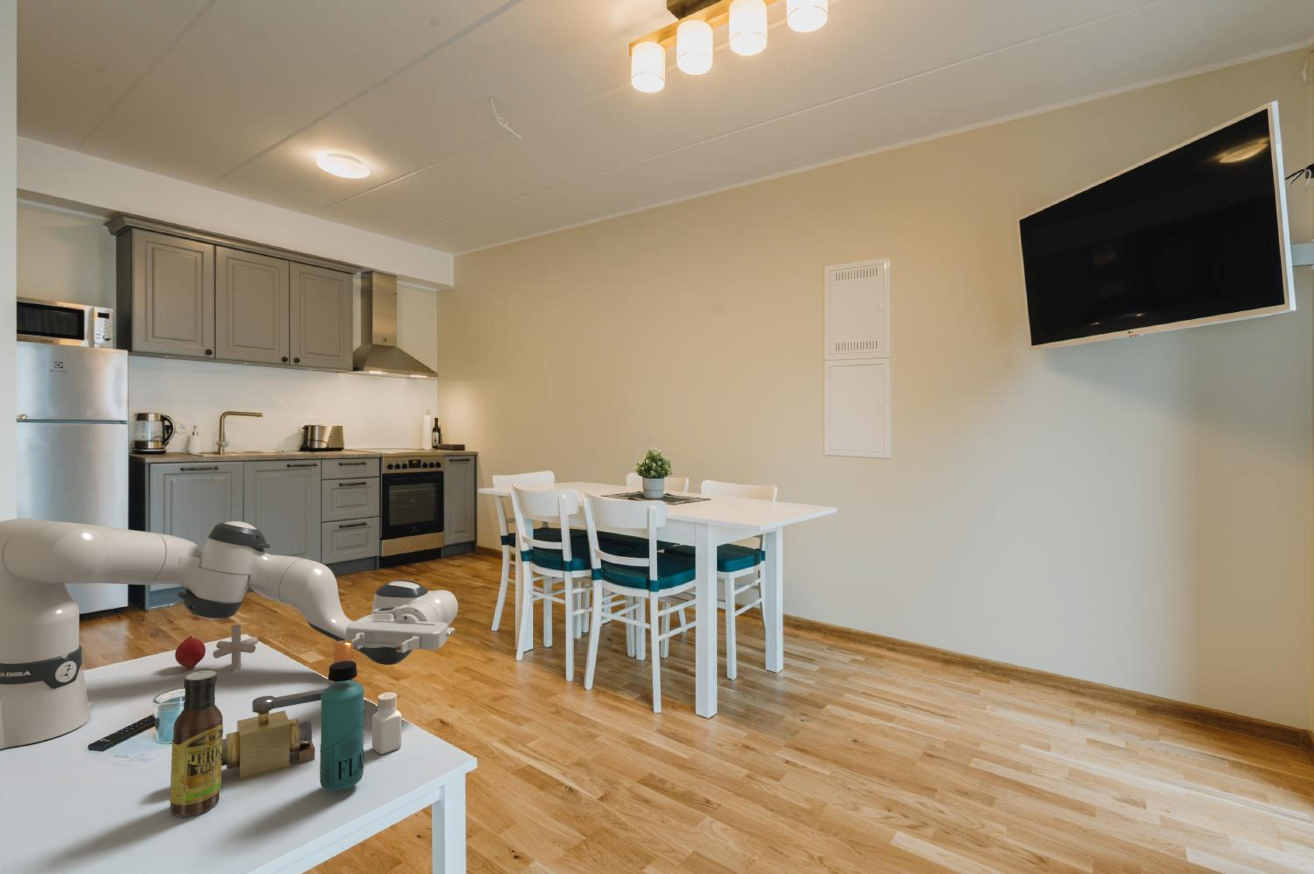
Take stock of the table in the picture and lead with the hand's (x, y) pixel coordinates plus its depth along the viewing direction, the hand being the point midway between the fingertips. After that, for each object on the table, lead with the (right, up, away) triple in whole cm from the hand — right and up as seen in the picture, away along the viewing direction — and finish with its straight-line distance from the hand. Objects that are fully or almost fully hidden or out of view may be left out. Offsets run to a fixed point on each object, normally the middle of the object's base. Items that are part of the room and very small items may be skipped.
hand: (376, 646), depth 123 cm
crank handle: (-7, -5, -13) cm, 16 cm away
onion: (-55, -14, +26) cm, 62 cm away
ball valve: (-14, -15, -17) cm, 26 cm away
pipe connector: (-45, -14, +26) cm, 54 cm away
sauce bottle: (-15, -15, -28) cm, 35 cm away
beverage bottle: (+4, -15, -22) cm, 27 cm away
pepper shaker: (+6, -15, -9) cm, 19 cm away
